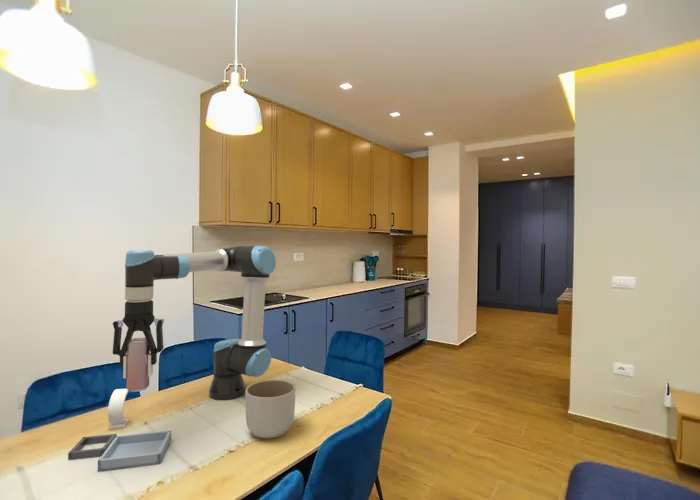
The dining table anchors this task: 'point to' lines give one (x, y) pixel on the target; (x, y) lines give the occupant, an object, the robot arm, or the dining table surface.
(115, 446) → the tray
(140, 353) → the beverage can
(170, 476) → the dining table surface
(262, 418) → the planter
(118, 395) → the white curved strip
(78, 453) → the socket collar
